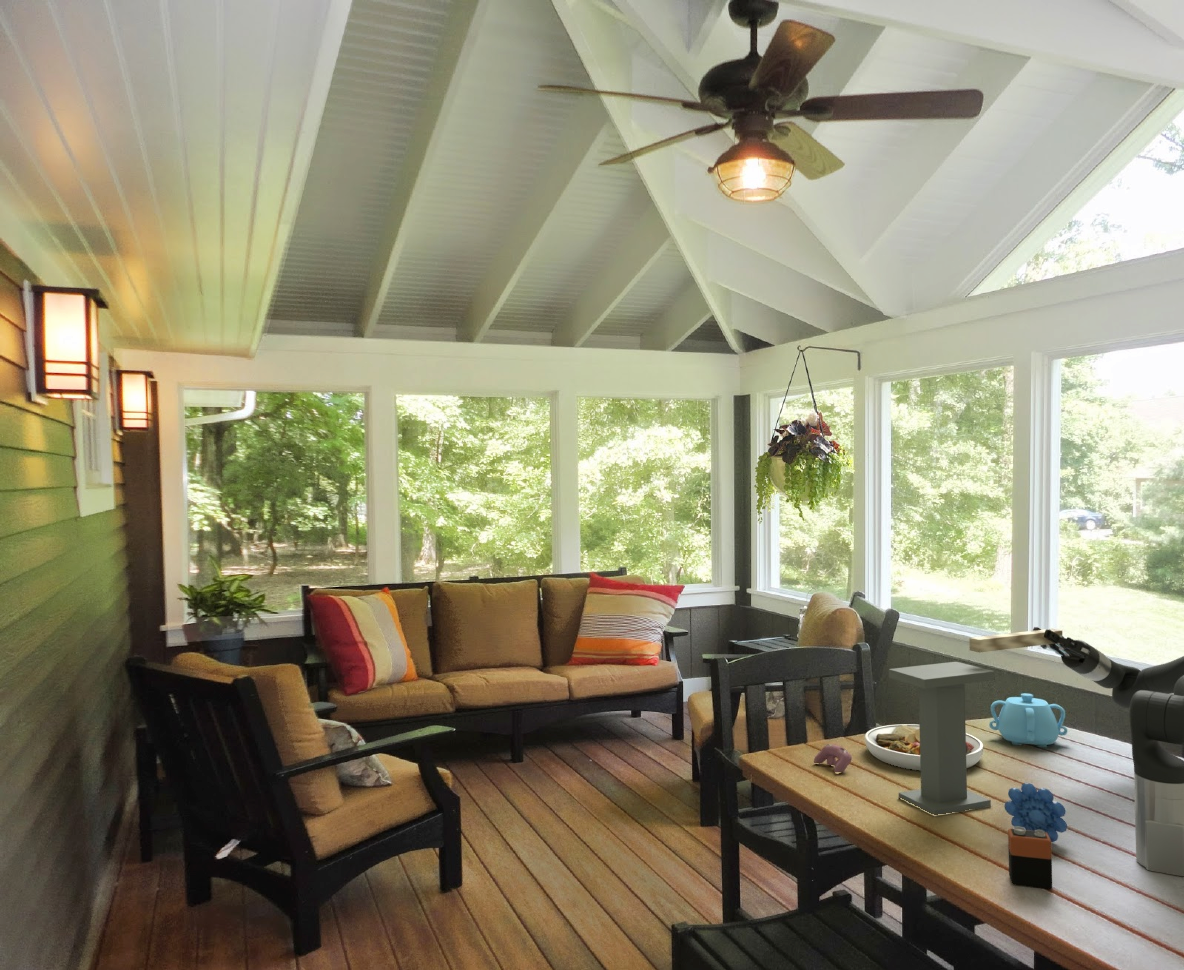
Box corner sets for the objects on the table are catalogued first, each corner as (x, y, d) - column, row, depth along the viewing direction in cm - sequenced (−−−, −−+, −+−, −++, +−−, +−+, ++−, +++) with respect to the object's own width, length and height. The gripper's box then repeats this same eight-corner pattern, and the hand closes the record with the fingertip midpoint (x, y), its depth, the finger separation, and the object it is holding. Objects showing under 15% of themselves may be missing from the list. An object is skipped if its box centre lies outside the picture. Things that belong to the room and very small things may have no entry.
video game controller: (848, 779, 222) (857, 753, 223) (835, 773, 220) (844, 747, 221) (823, 768, 231) (832, 743, 232) (811, 762, 229) (820, 737, 230)
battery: (1008, 875, 163) (1007, 822, 163) (1048, 880, 161) (1047, 826, 161) (1011, 885, 159) (1010, 831, 159) (1052, 890, 156) (1051, 836, 156)
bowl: (842, 751, 240) (841, 723, 240) (918, 735, 254) (917, 709, 254) (928, 784, 213) (927, 752, 213) (1008, 763, 227) (1007, 734, 227)
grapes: (1006, 845, 176) (1005, 787, 176) (1004, 832, 182) (1002, 776, 182) (1070, 853, 172) (1069, 793, 172) (1066, 840, 178) (1064, 782, 178)
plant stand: (959, 788, 209) (956, 661, 209) (997, 805, 198) (994, 671, 198) (891, 800, 202) (888, 669, 202) (927, 818, 191) (924, 679, 191)
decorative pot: (1030, 731, 255) (1029, 685, 255) (1074, 746, 239) (1072, 697, 239) (984, 737, 250) (983, 690, 250) (1026, 752, 235) (1024, 703, 235)
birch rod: (1052, 640, 213) (1052, 628, 213) (1062, 642, 211) (1062, 630, 211) (969, 650, 205) (969, 637, 205) (979, 652, 202) (978, 639, 202)
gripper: (1106, 680, 208) (1058, 650, 203) (1057, 668, 221) (1011, 640, 216) (1116, 651, 209) (1069, 621, 204) (1067, 642, 222) (1022, 613, 217)
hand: (1040, 631), depth 210 cm, fingers closed on birch rod, 3 cm apart
